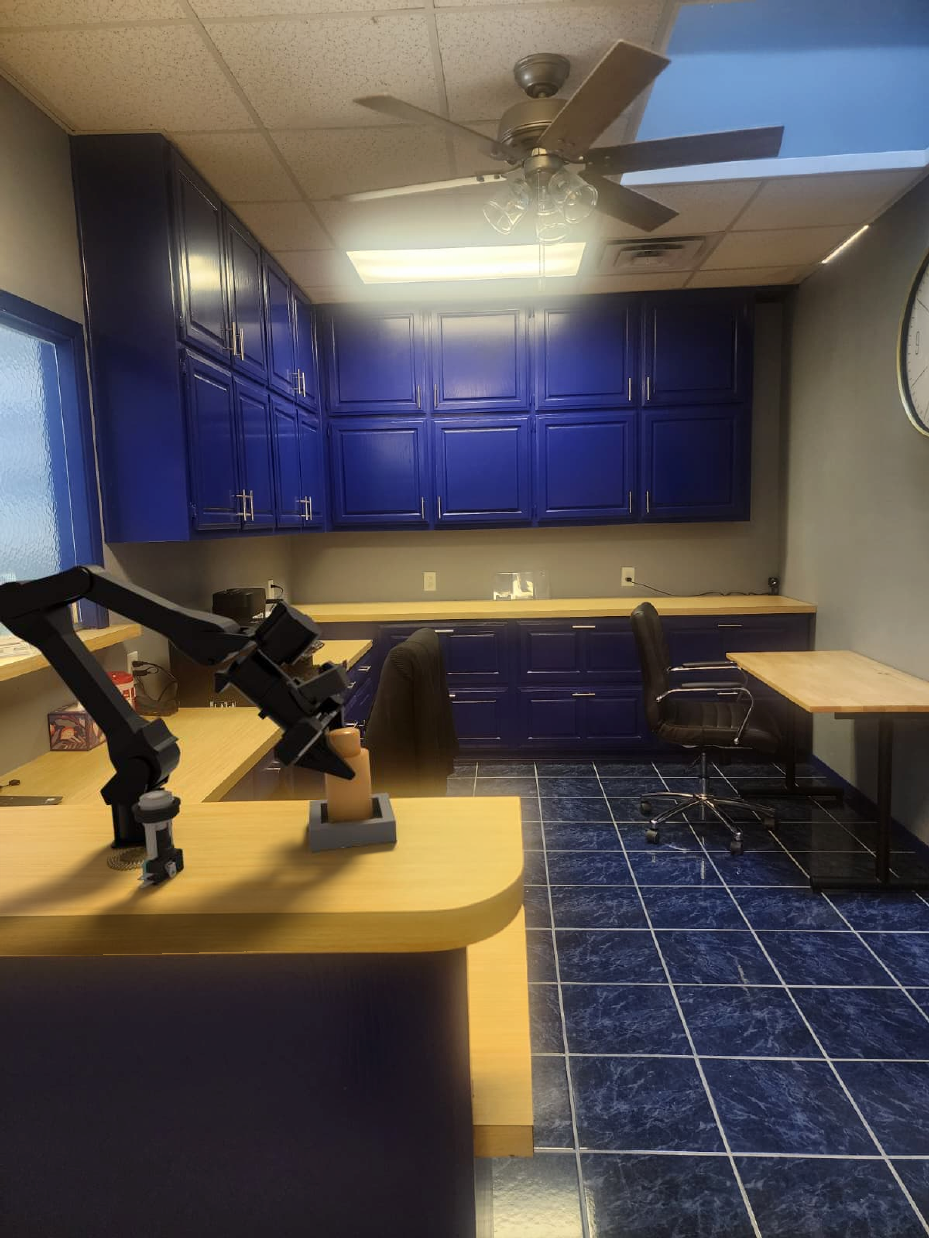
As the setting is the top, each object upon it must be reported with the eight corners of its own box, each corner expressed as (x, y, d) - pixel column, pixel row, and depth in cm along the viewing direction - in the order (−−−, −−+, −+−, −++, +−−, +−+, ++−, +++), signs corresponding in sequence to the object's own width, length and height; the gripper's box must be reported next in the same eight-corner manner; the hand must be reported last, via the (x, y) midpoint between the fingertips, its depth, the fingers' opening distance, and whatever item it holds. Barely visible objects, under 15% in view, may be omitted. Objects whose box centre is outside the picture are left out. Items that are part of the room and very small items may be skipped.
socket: (310, 851, 92) (308, 830, 92) (310, 820, 103) (309, 800, 103) (396, 841, 94) (395, 820, 94) (388, 811, 105) (387, 792, 105)
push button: (159, 894, 83) (152, 809, 81) (120, 890, 84) (112, 806, 83) (196, 868, 89) (189, 789, 88) (159, 864, 90) (151, 786, 89)
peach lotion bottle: (336, 838, 95) (328, 740, 93) (323, 823, 100) (316, 730, 99) (380, 827, 97) (373, 732, 96) (365, 814, 103) (358, 723, 101)
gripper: (293, 657, 87) (390, 744, 88) (325, 636, 105) (405, 708, 106) (232, 724, 88) (329, 809, 89) (274, 692, 106) (354, 763, 107)
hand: (358, 767), depth 98 cm, fingers open, 8 cm apart
